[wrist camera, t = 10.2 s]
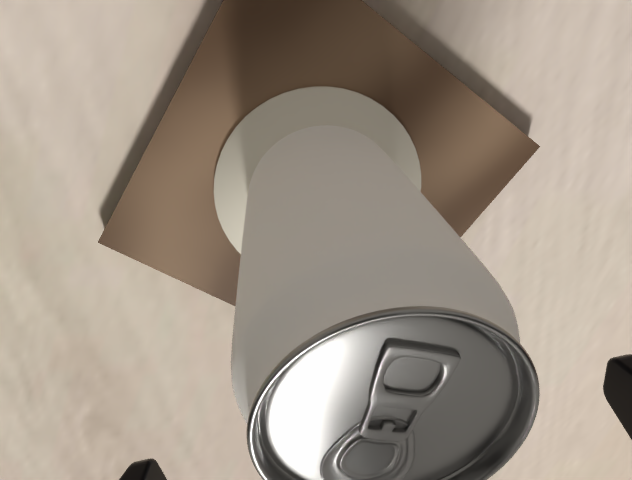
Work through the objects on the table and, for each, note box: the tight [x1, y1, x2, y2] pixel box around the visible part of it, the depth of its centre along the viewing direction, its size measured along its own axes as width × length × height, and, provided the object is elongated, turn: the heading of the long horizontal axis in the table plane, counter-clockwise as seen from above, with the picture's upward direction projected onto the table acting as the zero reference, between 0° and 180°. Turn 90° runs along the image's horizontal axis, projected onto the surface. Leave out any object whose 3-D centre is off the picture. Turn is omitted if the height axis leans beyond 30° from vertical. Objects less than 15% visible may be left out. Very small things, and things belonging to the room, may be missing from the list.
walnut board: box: [98, 0, 540, 306], centre depth 19 cm, size 14×14×1 cm
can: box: [231, 125, 539, 480], centre depth 14 cm, size 6×6×12 cm
